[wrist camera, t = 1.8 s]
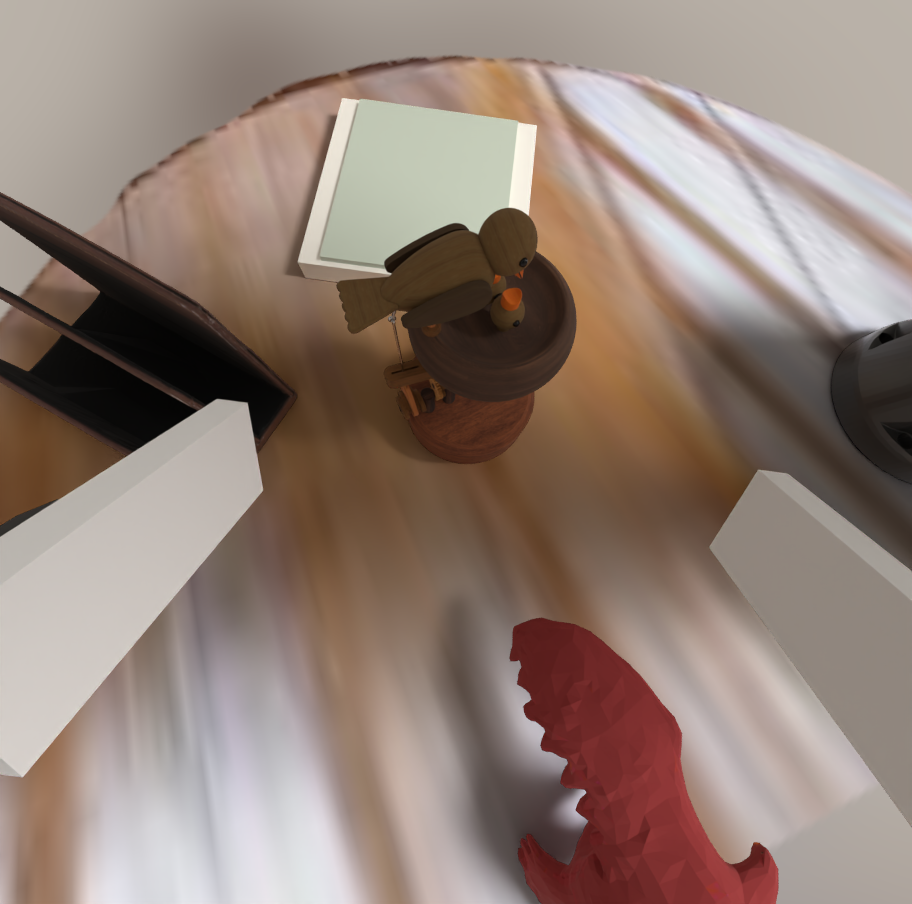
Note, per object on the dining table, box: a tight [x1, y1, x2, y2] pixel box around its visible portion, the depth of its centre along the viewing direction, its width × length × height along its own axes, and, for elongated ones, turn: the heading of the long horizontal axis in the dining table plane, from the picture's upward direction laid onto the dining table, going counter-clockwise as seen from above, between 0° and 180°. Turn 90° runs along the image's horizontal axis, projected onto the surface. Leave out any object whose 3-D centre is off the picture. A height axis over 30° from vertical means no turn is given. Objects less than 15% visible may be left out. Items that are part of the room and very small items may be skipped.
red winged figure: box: [510, 618, 778, 904], centre depth 22 cm, size 28×9×15 cm
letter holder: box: [0, 192, 297, 456], centre depth 25 cm, size 10×20×14 cm, turn 61°
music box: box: [337, 208, 576, 464], centre depth 24 cm, size 15×11×20 cm
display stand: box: [298, 98, 537, 282], centre depth 37 cm, size 20×20×2 cm
